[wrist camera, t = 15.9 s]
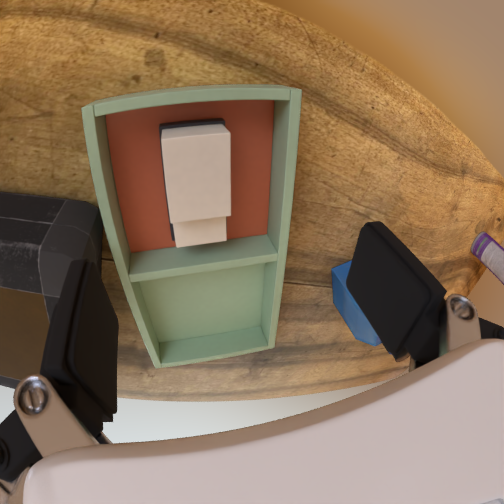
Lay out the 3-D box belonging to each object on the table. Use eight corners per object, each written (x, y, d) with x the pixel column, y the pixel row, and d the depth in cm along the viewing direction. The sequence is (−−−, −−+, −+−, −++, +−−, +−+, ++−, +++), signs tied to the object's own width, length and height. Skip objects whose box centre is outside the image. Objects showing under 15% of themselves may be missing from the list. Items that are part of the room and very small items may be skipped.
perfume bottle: (333, 302, 36) (379, 378, 27) (331, 268, 32) (388, 351, 23) (373, 284, 36) (423, 352, 27) (376, 249, 32) (438, 321, 23)
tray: (153, 343, 32) (155, 368, 29) (94, 100, 16) (80, 107, 13) (265, 324, 35) (274, 347, 32) (282, 84, 19) (302, 89, 16)
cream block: (159, 123, 18) (157, 136, 15) (222, 117, 19) (234, 129, 16) (171, 233, 23) (173, 263, 20) (224, 226, 24) (235, 254, 21)
